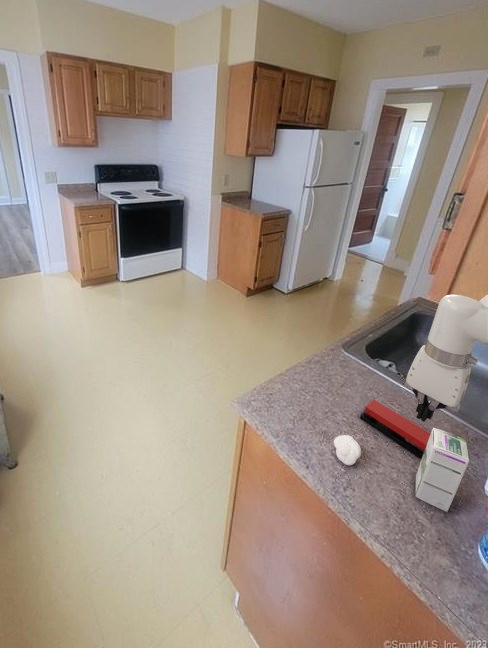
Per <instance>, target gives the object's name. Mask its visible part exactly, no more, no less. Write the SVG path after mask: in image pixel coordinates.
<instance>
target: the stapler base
mask: <svg viewBox="0 0 488 648" xmlns="http://www.w3.org/2000/svg"><path fill="white" fill-rule="evenodd" d="M359 419H360V420H362V421H363V422H365V423H366V424H367V425H369V426H370V427H372V428H373V429H375V430H377V431H378V432H380V433H381V434H382V435H384V436H385V437H386V438H389V439H390V440H391V441H393V442H394V443H396V444H398V445H399V446H401V447H402V448H404V449H405V450H406V451H408V452H410V453H411V454H412V455H414V456H415V457H417V458H419V459H420V460H421V459H422V457H423V454H424V450H423V449H421V448H420V447H418V446H416V445H415V444H413V443H412V442H410V441H409V440H407V439H406V438H404V437H403V436H401V435H399V434H398V433H396V432H395V431H393V430H392V429H390V428H389V427H387V426H385V425H384V424H382V423H381V422H379V421H378V420H376V419H375V418H373V417H372V416H370V415H368V414H367V413H365V412H364V411H362V413H361V414H360V416H359Z"/></svg>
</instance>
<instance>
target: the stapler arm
mask: <svg viewBox="0 0 488 648" xmlns="http://www.w3.org/2000/svg"><path fill="white" fill-rule="evenodd" d="M363 410H364V411H363V412H365V413H367V414H368V415H370V416H372V417H373V418H375V419H376V420H378V421H379V422H381V423H382V424H384V425H385V426H387V427H389V428H390V429H392V430H393V431H395V432H396V433H398V434H399V435H401V436H403V437H404V438H406V439H407V440H409V441H410V442H412V443H413V444H415V445H416V446H418V447H420V448H421V449H423V450H424V451H425V448H426V446H427V443H428V440H429V437H430V435H431V432H429V431H427V430H425V429H424V428H422V427H421V426H419V425H417V424H416V423H413V422H412V421H410V420H409V419H407V418H405V417H404V416H403V415H400V414H399V413H397V412H396V411H394V410H392V409H390V408H389V407H387V406H385V405H384V404H382V403H381V402H379V401H377V400H375V399H374V398H373V399H372V400H371V401H370V402H369V403H368V404H367V405H366V406H365V407H364V409H363Z"/></svg>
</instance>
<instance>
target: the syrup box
mask: <svg viewBox="0 0 488 648" xmlns="http://www.w3.org/2000/svg"><path fill="white" fill-rule="evenodd" d="M430 434H431V435H430V437H429V440H428V443H427V446H426V448H425V451H424V454H423V457H422V459H420V463H419V465H418V468H417V470H416V474H415V493H414V494H415V498H417V499H419V500H421V501H422V502H424V503H426V504H429V505H431V506H433V507H435V508H437V509H439V510H442V511H444V512H446V513H448V511H449V510H450V508H451V505H452V503H453V501H454V498H455V496H456V494H457V491H458V489H459V487H460V485H461V481H462V480H463V476H464V475H465V473H466V470H467V468H468V465H469V463H470V458H469V451H468V443H467V439H466V438H463V437H461V436H459V435H457V434H454V433H451V432H449V431H446V430H443V429H441V428H437V427H432V429H431V432H430Z"/></svg>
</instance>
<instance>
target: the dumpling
mask: <svg viewBox="0 0 488 648" xmlns="http://www.w3.org/2000/svg"><path fill="white" fill-rule="evenodd" d="M333 445H334V448H335V455H336V457H337V459H338V460H339V462H341V463H343V464H344V465H345V466H353V465H354V464H356V463H357V461H358V460H359V459H360V457H361V455H362V449H361V446H360V444H359V443H358V442H357V440H355V439H354V438H353V436H351V435H348V434H340V435H338V436H336V437H335V438H334V439H333Z"/></svg>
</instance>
